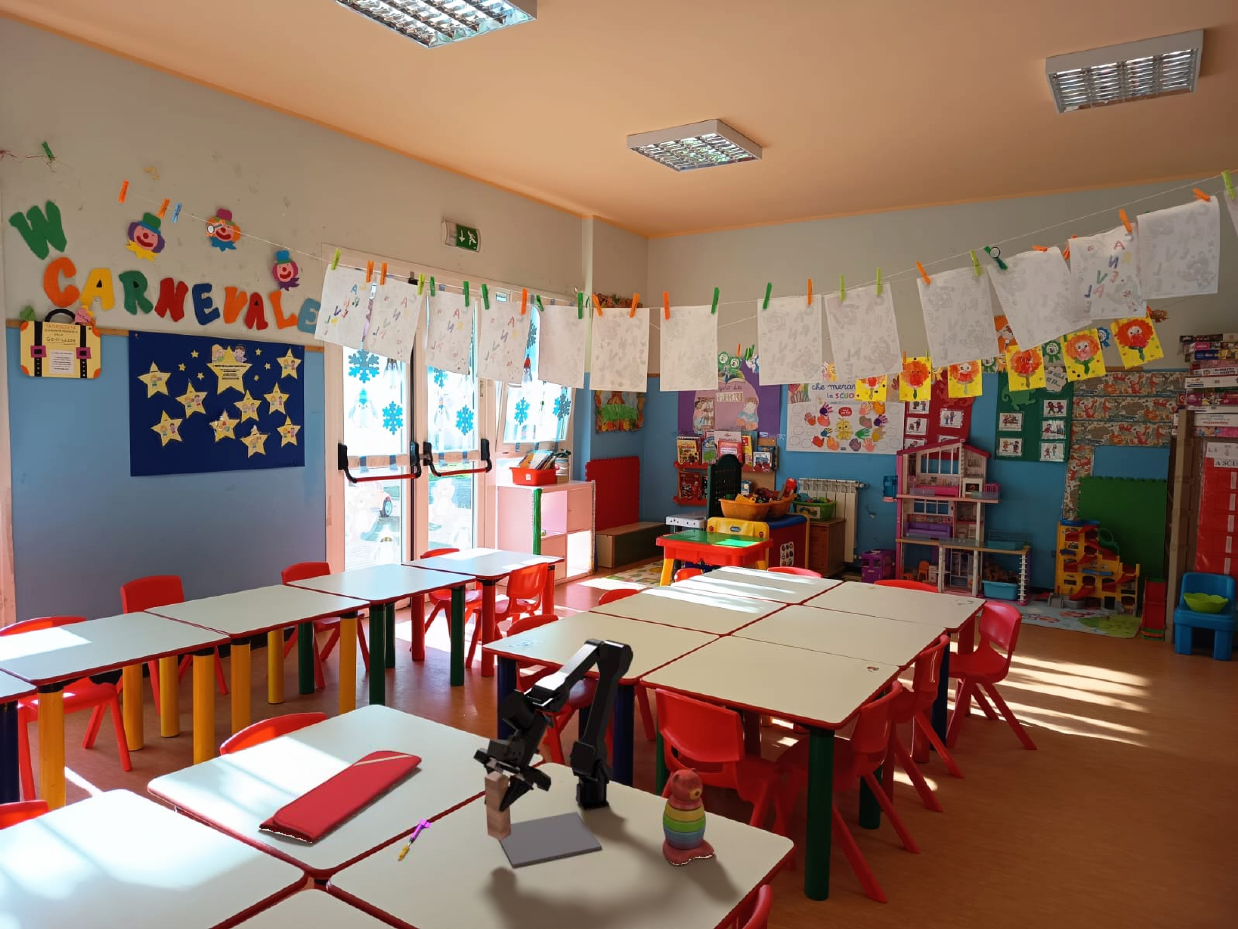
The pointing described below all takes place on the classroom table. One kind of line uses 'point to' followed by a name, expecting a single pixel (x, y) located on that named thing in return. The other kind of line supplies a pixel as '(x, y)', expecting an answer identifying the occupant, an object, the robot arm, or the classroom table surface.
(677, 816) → the stacking bear
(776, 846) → the classroom table surface
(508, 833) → the terracotta block
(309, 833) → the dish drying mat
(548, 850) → the charcoal mat
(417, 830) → the pink dart
